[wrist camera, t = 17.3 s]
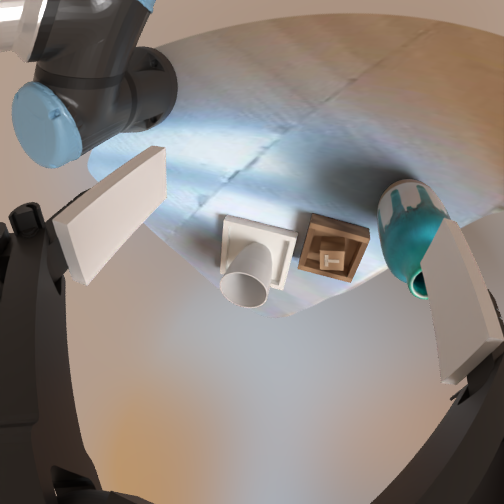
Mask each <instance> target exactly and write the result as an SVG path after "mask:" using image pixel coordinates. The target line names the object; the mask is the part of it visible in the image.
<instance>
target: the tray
mask: <svg viewBox="0 0 504 504" xmlns="http://www.w3.org/2000/svg"><path fill="white" fill-rule="evenodd" d="M297 236H298V232H294V231H290V230H286V229H282V228H279V227H275V226H271V225H267V224H263V223H259V222H255V221H251V220H246V219H242V218H238V217H234V216H230V215H226V217H225V219H224V221H223V236H222V250H221V266H220V273H221V274H225V272H226V270H227V269H228V267H229V265H230V264H231V262H232V261H233V260H234V259H235V257H236V256H237V255H238V254H239V252H240V251H241V250H243V249H244V248H245V247H246V246H248V245H249V244H251V243H260V244H263V245H265V246H266V247H267V248H268V249H269V250H270V252H271V257H272V279H271V284H270V287H272V288H276V289H279V290H283V288H284V284H285V281H286V277H287V273H288V270H289V266H290V262H291V259H292V255H293V251H294V247H295V243H296V240H297Z"/></svg>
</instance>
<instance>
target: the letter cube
mask: <svg viewBox="0 0 504 504" xmlns="http://www.w3.org/2000/svg"><path fill="white" fill-rule="evenodd" d="M344 254H345V237H328V236H322V238H321V246H320V269H321V270H340V271H343V269H344Z"/></svg>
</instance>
